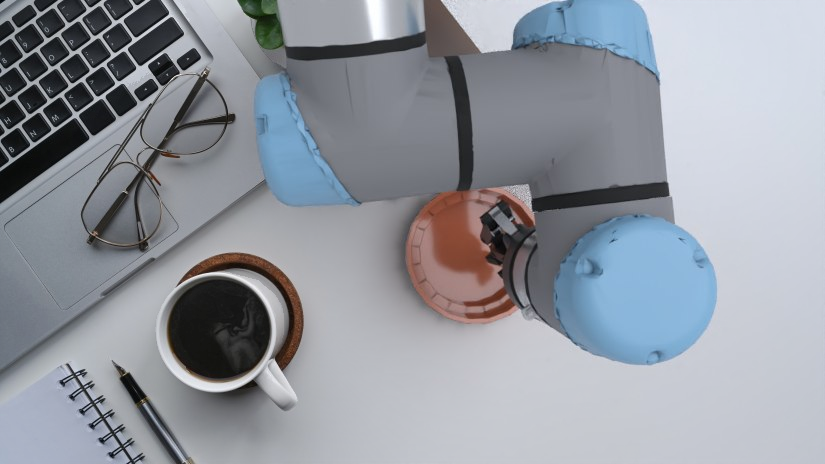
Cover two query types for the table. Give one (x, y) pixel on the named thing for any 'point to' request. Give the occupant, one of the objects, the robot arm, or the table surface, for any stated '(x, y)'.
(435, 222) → the bowl
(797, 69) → the table surface
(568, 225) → the robot arm
